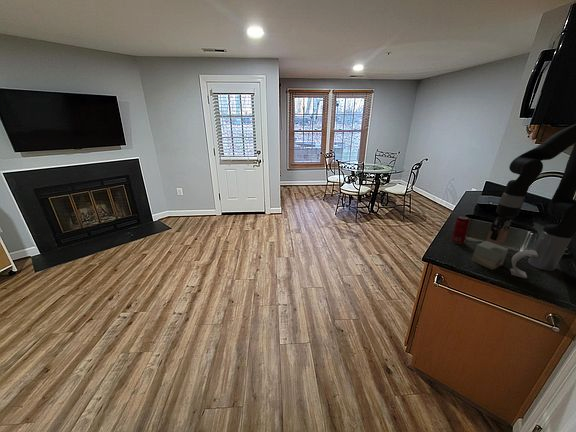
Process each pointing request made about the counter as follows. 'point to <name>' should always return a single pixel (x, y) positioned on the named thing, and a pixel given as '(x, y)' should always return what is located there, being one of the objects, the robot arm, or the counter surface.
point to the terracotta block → (500, 237)
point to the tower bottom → (486, 261)
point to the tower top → (491, 251)
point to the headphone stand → (518, 256)
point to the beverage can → (460, 229)
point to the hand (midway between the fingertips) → (496, 238)
